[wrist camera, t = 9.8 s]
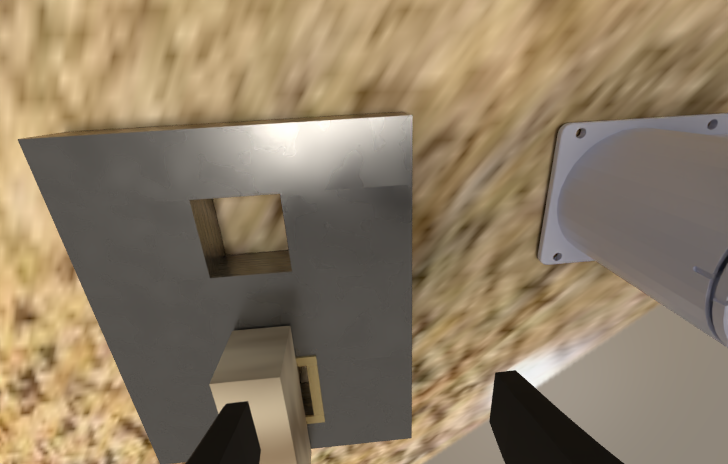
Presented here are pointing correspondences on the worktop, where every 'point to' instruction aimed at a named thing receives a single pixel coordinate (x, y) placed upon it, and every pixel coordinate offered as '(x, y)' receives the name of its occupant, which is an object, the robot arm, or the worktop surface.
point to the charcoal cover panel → (245, 262)
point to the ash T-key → (266, 391)
